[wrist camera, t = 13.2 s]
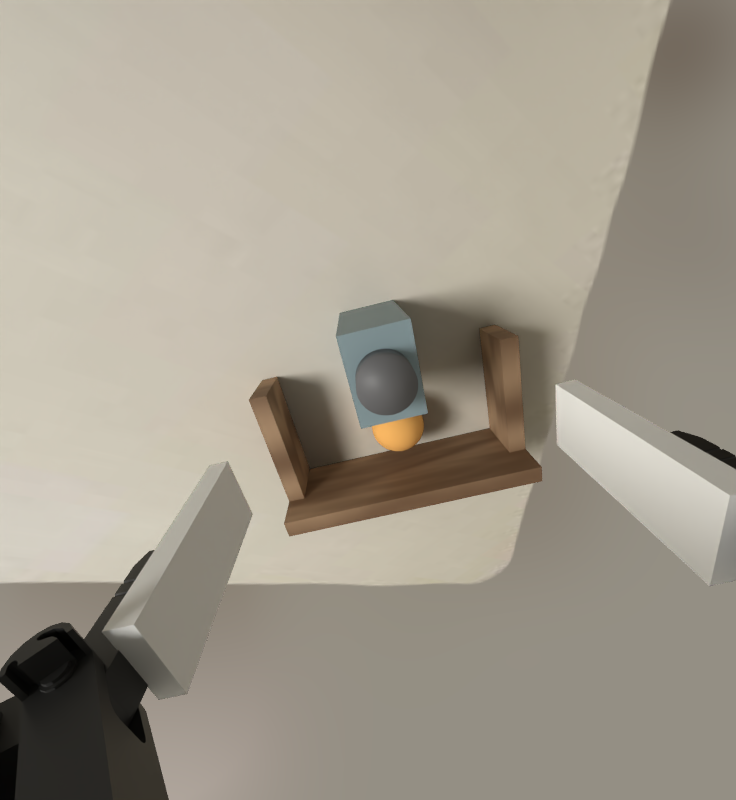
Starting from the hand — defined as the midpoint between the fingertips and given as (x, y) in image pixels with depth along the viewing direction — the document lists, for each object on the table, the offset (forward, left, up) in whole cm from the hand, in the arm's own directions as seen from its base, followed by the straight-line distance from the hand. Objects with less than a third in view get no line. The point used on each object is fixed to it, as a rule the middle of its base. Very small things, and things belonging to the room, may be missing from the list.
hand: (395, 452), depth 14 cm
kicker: (+1, 0, -21) cm, 21 cm away
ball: (+9, +1, -18) cm, 20 cm away
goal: (+7, 0, -21) cm, 22 cm away
